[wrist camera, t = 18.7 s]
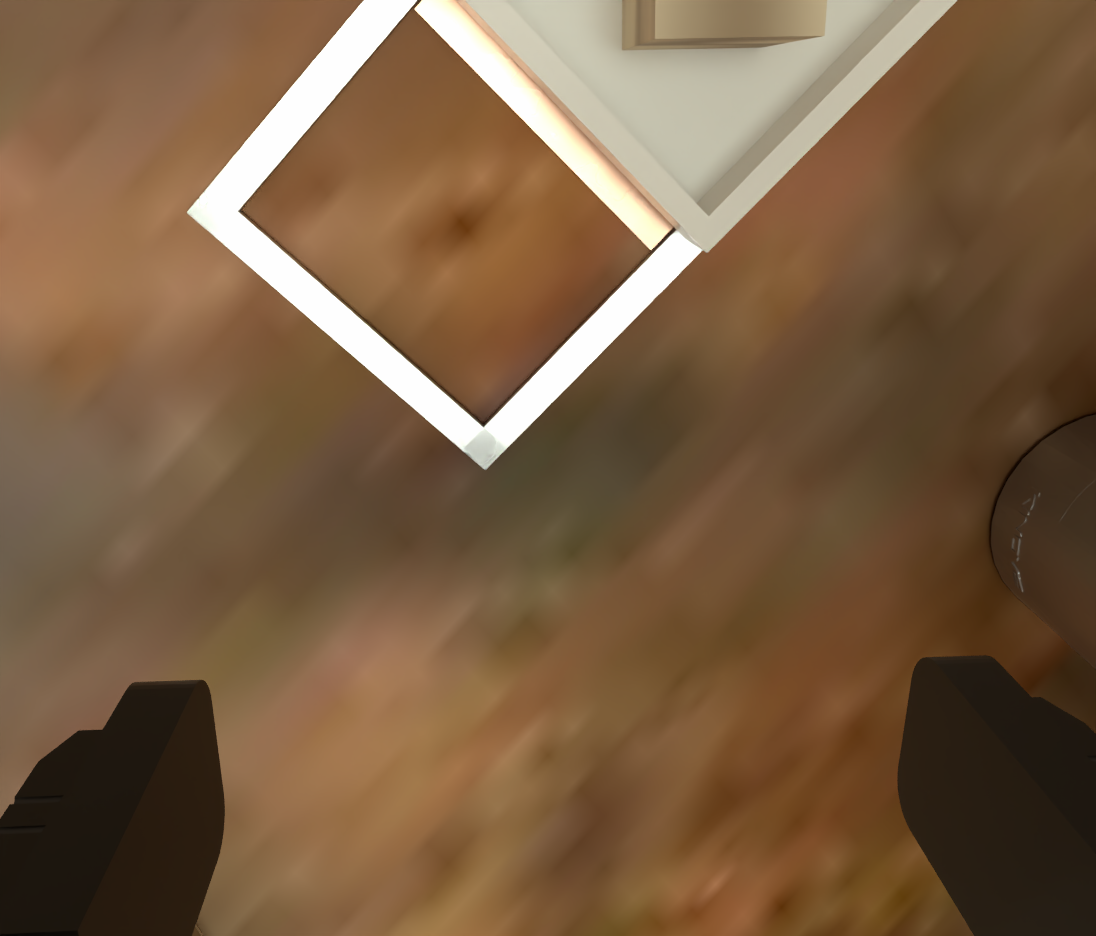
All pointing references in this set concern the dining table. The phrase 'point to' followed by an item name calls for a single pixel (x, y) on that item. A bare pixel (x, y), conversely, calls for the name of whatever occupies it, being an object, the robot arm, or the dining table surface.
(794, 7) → the block
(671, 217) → the shallow white tray
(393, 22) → the track
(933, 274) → the dining table surface
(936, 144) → the dining table surface
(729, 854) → the dining table surface
